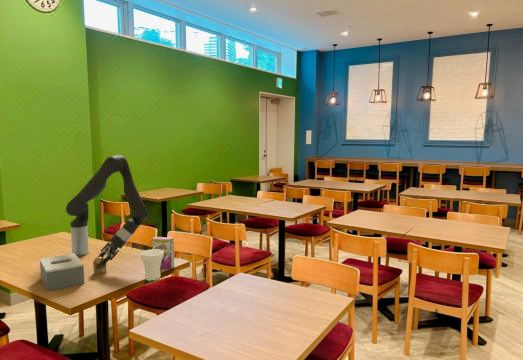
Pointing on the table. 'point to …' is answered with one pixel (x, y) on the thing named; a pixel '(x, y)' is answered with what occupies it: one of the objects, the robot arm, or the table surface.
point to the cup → (152, 263)
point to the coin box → (61, 271)
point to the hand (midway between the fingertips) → (99, 262)
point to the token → (99, 266)
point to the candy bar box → (165, 250)
